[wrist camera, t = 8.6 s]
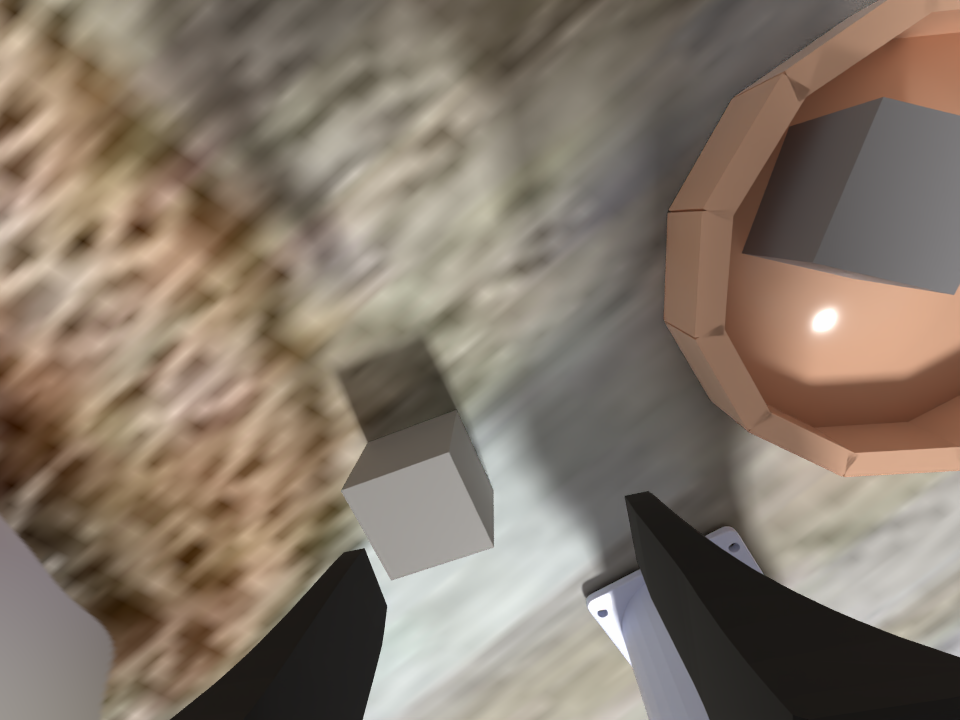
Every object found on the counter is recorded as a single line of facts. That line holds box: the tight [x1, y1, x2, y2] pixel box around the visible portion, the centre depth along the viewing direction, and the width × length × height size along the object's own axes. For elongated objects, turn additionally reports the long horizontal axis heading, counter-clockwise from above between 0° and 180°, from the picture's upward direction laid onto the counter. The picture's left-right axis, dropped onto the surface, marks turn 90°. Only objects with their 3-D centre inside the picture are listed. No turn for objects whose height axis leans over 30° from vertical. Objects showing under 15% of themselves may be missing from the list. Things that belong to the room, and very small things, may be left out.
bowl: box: [664, 0, 960, 477], centre depth 16 cm, size 16×16×3 cm
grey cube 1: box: [742, 97, 960, 295], centre depth 15 cm, size 4×4×4 cm
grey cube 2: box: [341, 410, 494, 580], centre depth 19 cm, size 4×4×4 cm
